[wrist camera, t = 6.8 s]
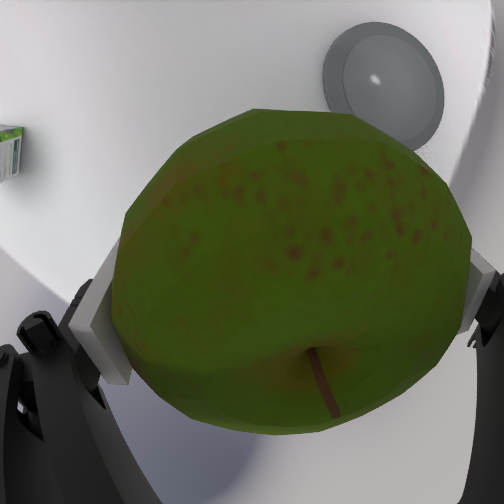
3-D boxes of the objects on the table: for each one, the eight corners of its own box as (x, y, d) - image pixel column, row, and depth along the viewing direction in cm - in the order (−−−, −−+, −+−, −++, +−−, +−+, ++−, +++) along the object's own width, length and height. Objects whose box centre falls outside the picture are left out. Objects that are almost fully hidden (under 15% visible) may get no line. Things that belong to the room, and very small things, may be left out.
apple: (379, 114, 12) (575, 190, 3) (352, 287, 17) (424, 437, 8) (150, 112, 11) (-44, 185, 2) (177, 297, 17) (151, 474, 7)
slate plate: (325, 151, 25) (330, 154, 24) (316, 15, 18) (321, 11, 17) (435, 155, 25) (443, 158, 24) (433, 40, 18) (441, 39, 17)
